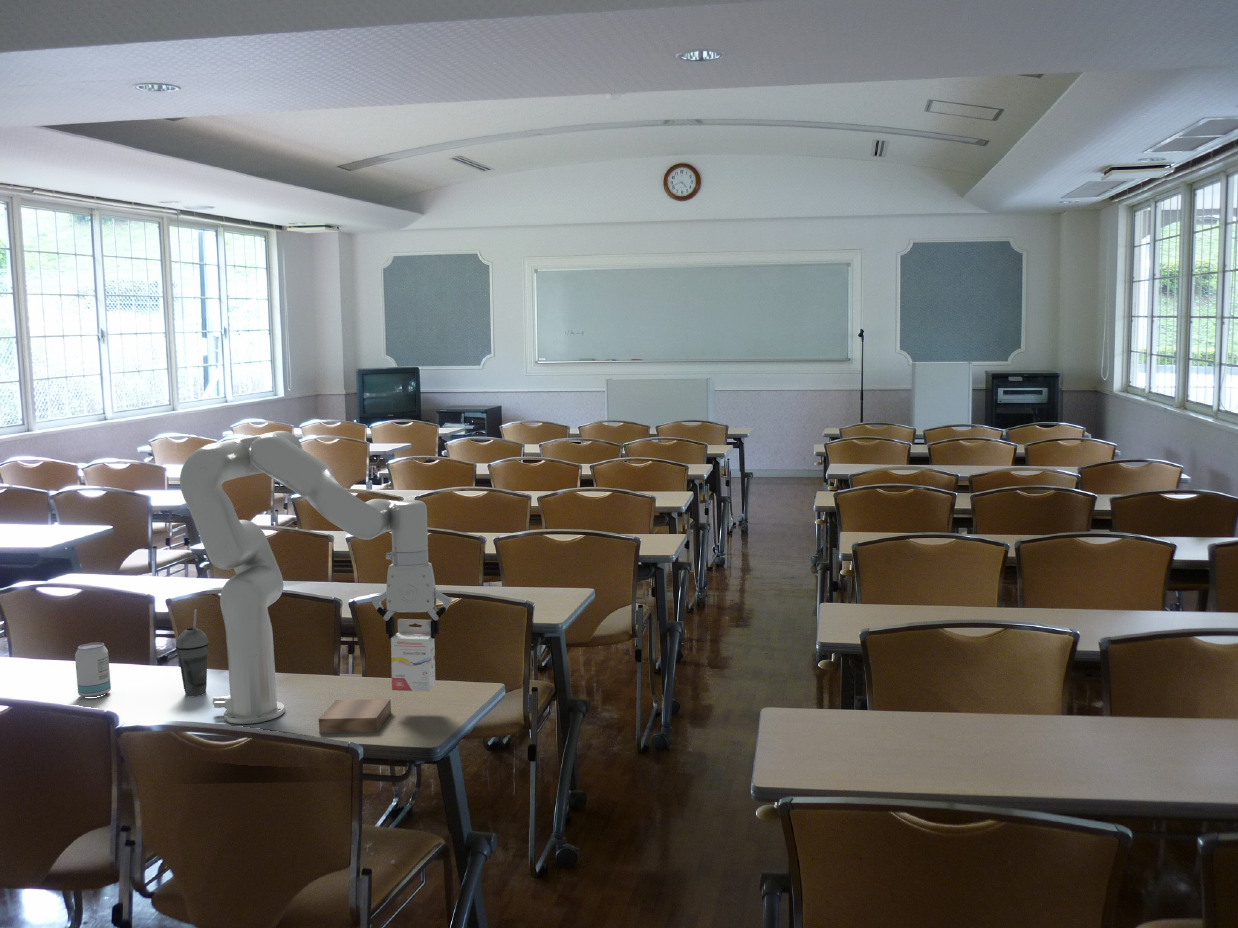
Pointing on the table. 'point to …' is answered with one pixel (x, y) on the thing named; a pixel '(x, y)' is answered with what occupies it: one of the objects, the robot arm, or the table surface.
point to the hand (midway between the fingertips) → (412, 636)
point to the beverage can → (92, 670)
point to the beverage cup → (193, 659)
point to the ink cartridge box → (413, 656)
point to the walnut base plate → (355, 716)
